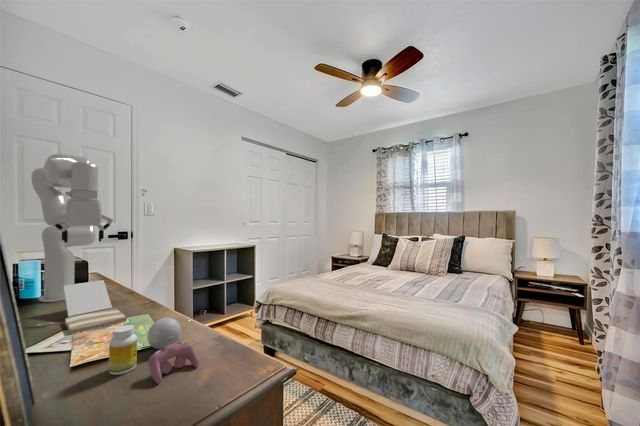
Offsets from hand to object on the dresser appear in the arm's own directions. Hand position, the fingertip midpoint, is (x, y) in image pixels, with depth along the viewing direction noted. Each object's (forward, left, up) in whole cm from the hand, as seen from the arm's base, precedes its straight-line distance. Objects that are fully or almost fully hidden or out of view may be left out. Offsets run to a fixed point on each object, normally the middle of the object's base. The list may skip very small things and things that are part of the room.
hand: (83, 241), depth 102 cm
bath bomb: (+32, +42, -27) cm, 59 cm away
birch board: (+11, +11, -26) cm, 31 cm away
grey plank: (-1, +1, -22) cm, 22 cm away
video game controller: (+44, +50, -27) cm, 72 cm away
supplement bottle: (+42, +37, -27) cm, 62 cm away
